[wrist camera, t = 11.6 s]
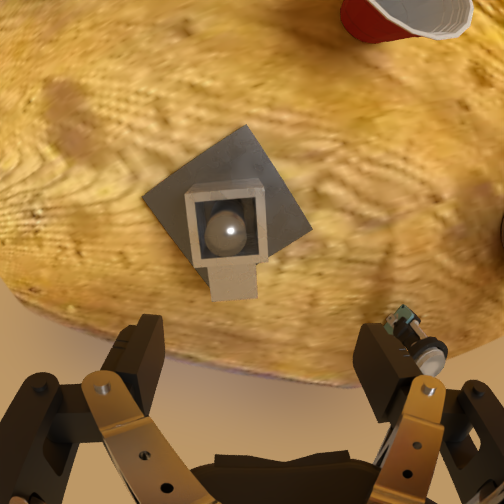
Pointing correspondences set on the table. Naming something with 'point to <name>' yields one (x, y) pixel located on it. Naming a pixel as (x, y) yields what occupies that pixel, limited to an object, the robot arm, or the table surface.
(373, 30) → the plastic cup
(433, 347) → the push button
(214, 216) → the gray square plate
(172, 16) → the table surface
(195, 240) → the grey hollow block
